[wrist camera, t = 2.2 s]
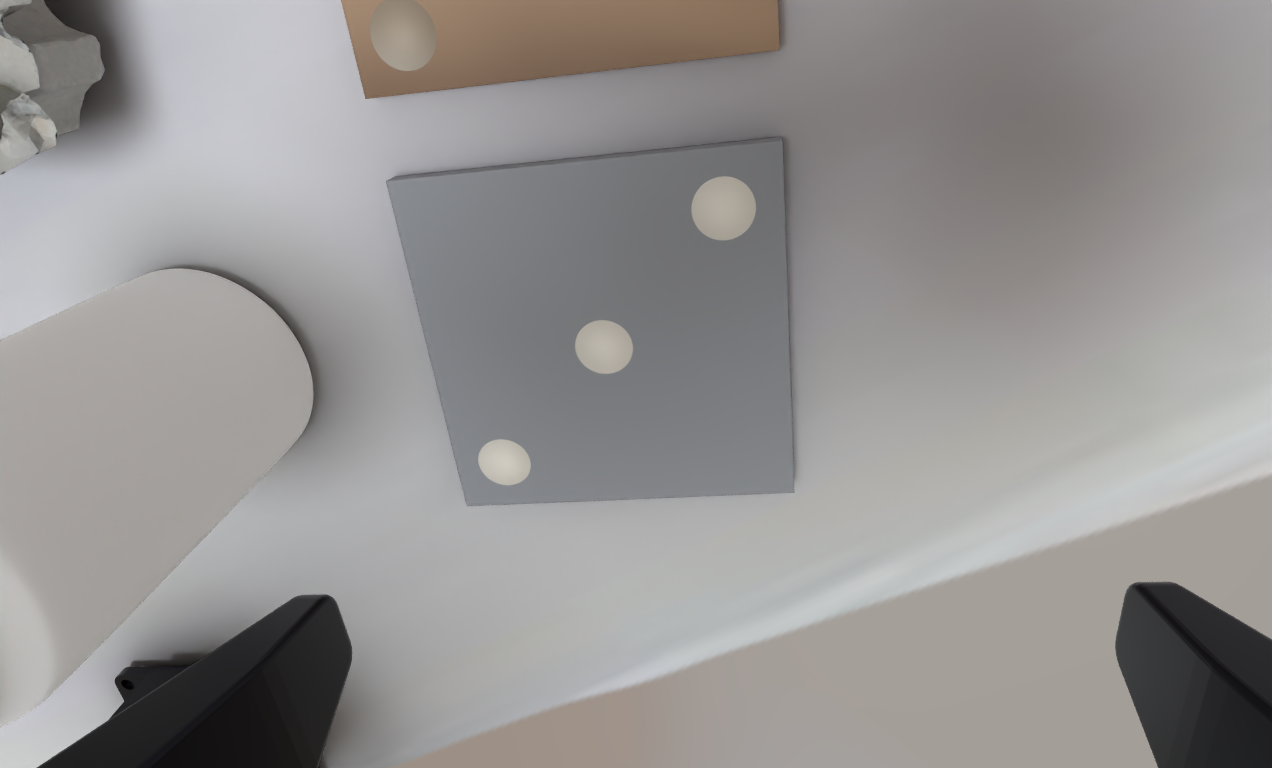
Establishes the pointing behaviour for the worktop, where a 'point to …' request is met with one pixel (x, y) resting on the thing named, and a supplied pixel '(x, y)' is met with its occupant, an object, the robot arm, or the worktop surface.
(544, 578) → the worktop surface
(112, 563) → the can
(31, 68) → the egg carton
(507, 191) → the slate mat
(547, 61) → the walnut mat
